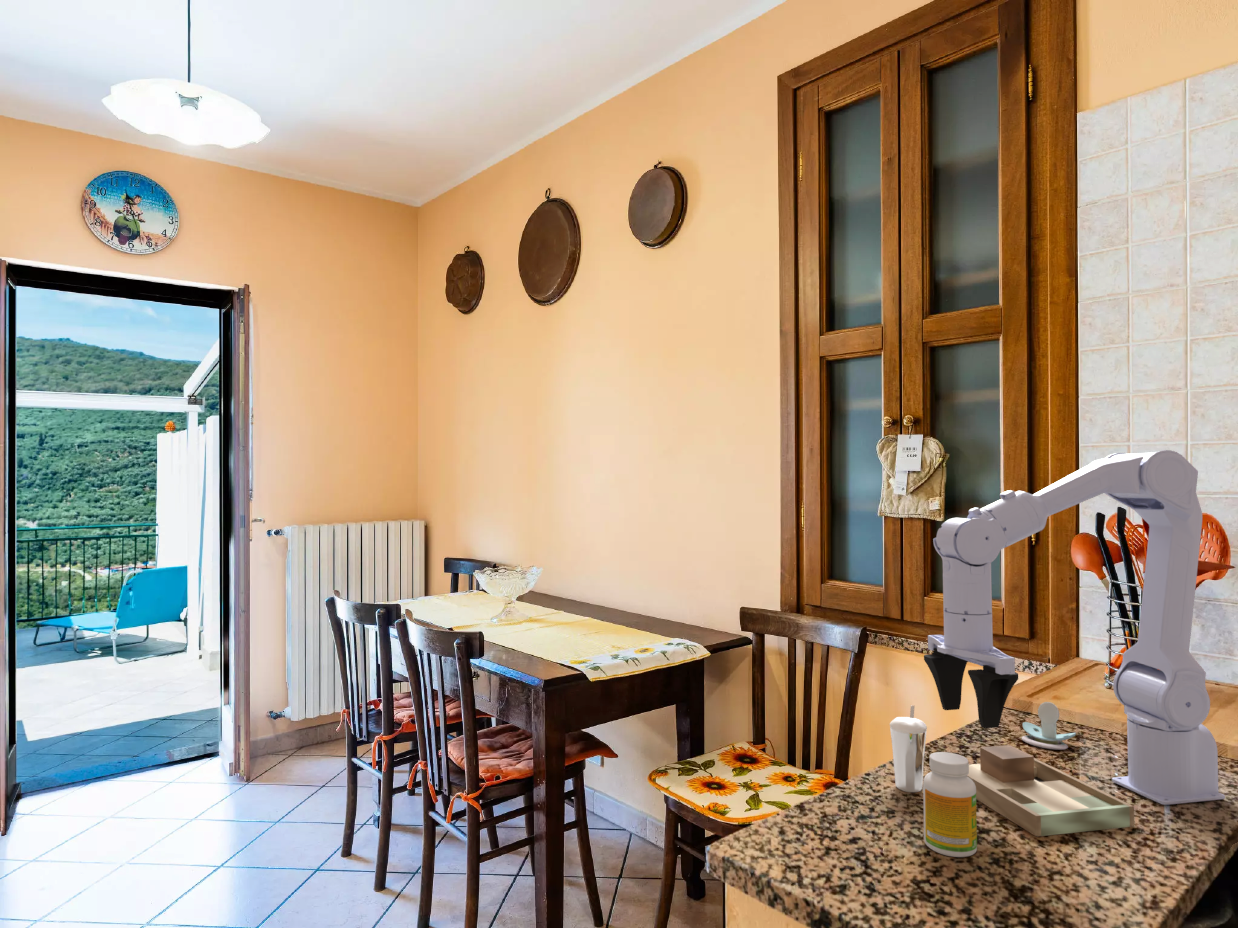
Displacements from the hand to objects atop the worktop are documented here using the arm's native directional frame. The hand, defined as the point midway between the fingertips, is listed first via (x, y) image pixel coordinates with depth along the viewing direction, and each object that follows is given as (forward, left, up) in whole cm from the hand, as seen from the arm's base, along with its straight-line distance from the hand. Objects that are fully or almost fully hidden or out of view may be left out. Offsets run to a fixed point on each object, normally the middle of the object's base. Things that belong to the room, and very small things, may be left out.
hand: (969, 717), depth 98 cm
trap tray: (-7, +3, -10) cm, 12 cm away
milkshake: (+6, -4, -10) cm, 12 cm away
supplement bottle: (+11, +12, -10) cm, 19 cm away
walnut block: (-7, -2, -8) cm, 11 cm away
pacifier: (-24, -15, -10) cm, 30 cm away
